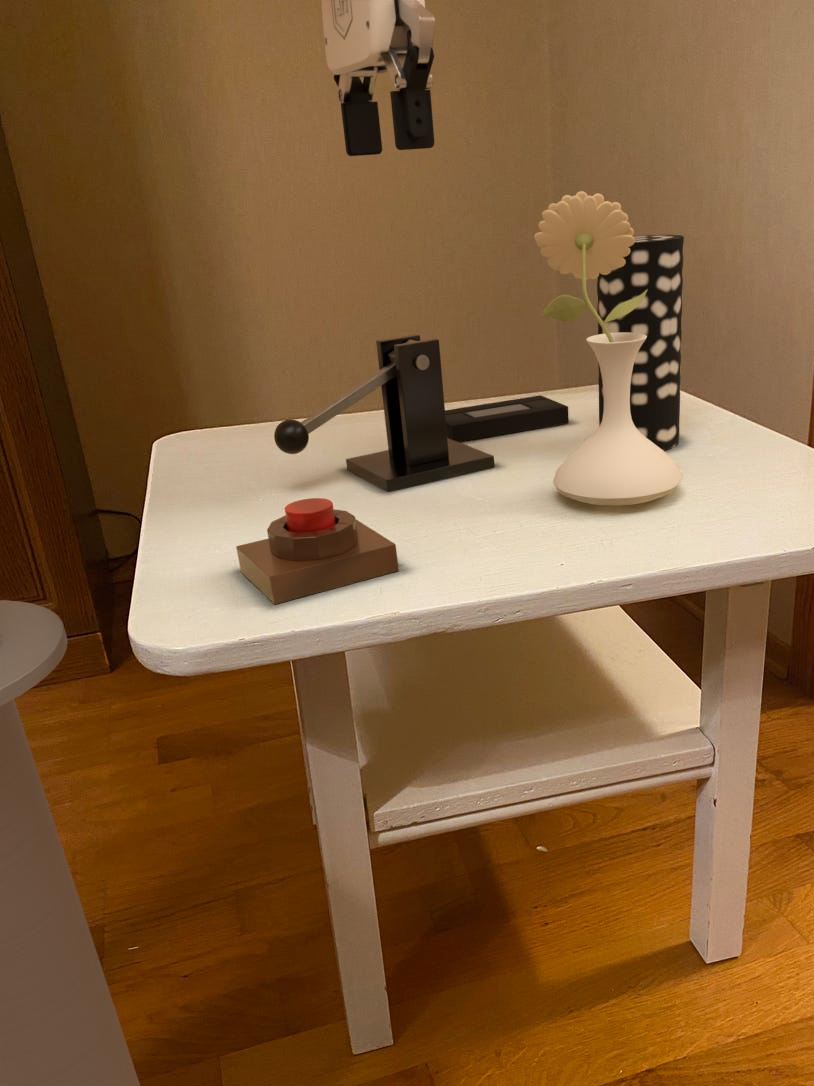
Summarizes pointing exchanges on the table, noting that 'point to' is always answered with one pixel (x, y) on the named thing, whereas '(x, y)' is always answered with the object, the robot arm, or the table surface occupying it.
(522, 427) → the vhs tape
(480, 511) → the table surface
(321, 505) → the button
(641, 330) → the white-spotted black cylinder
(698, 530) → the table surface
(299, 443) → the lever
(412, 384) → the bracket
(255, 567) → the button block
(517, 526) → the table surface
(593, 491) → the flower in vase
